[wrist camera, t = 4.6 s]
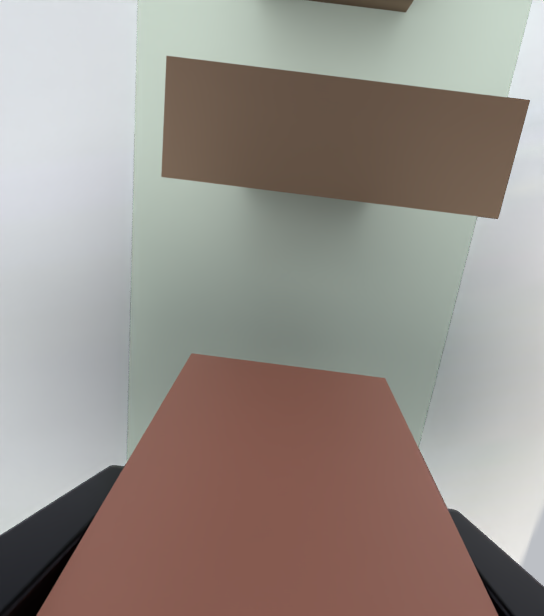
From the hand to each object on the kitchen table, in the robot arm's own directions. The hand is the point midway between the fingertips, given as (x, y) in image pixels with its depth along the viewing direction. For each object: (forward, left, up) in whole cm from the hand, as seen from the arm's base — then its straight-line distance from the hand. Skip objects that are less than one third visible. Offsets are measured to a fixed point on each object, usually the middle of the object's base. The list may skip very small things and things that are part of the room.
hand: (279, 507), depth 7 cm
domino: (+5, +3, -11) cm, 12 cm away
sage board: (0, 0, -11) cm, 11 cm away
